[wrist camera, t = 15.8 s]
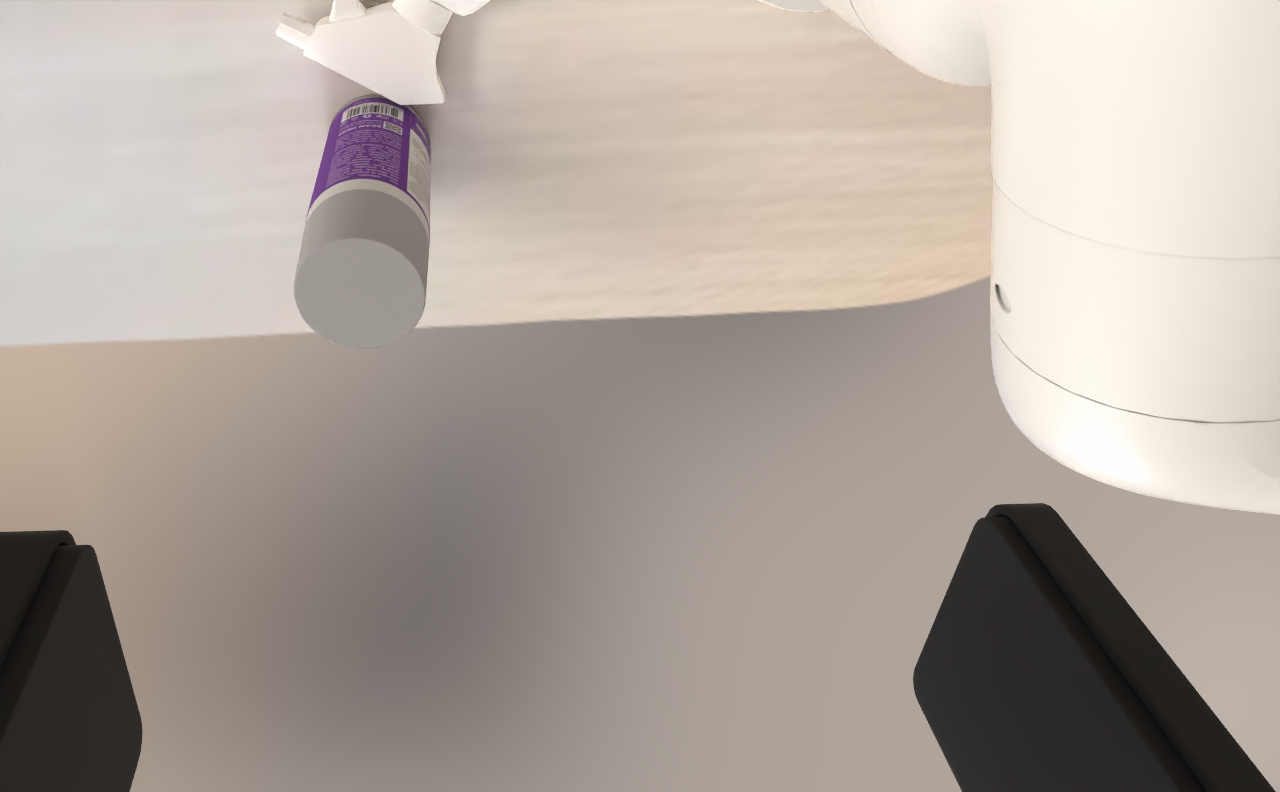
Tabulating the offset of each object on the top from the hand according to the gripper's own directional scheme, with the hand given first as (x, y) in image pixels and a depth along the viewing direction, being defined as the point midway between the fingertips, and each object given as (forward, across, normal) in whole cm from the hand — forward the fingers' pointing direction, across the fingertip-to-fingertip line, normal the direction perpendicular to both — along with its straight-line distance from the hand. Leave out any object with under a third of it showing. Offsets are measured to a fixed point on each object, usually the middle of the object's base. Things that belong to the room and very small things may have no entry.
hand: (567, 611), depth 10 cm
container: (+38, +4, +9) cm, 40 cm away
